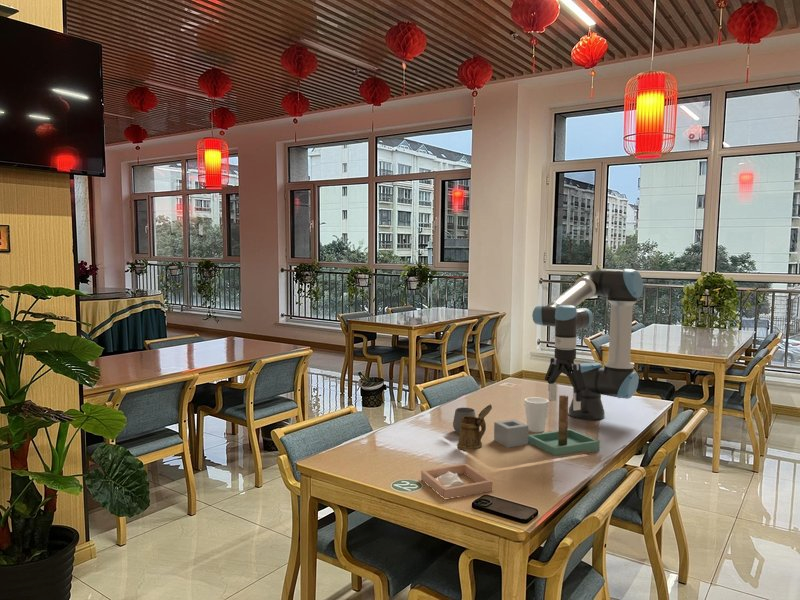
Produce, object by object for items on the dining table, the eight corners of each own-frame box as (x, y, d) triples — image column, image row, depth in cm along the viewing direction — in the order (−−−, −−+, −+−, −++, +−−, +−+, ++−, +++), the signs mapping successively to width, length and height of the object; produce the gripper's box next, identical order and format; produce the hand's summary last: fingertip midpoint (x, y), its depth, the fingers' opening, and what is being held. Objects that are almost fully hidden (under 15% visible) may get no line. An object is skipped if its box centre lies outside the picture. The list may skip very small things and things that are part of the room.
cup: (452, 431, 233) (452, 406, 233) (475, 431, 233) (475, 406, 232) (453, 438, 224) (453, 413, 223) (477, 438, 224) (478, 413, 223)
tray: (570, 437, 225) (570, 428, 225) (599, 450, 211) (599, 441, 210) (527, 444, 217) (527, 435, 217) (554, 458, 203) (554, 448, 202)
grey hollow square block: (514, 439, 223) (514, 419, 222) (528, 446, 214) (528, 425, 214) (494, 442, 219) (494, 421, 219) (507, 450, 211) (507, 428, 210)
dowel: (563, 442, 216) (564, 395, 215) (569, 445, 213) (570, 396, 212) (556, 443, 215) (557, 395, 214) (562, 446, 212) (563, 397, 211)
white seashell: (460, 480, 173) (429, 476, 176) (460, 494, 173) (429, 490, 176) (467, 468, 182) (437, 465, 185) (467, 482, 183) (437, 478, 185)
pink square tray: (465, 471, 190) (465, 463, 190) (492, 490, 175) (493, 481, 175) (420, 479, 184) (420, 470, 183) (444, 500, 169) (444, 490, 168)
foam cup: (548, 436, 227) (549, 403, 225) (524, 434, 228) (524, 402, 227) (547, 429, 236) (548, 397, 235) (524, 427, 238) (524, 396, 237)
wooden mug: (483, 457, 204) (483, 406, 202) (452, 448, 213) (452, 400, 212) (497, 450, 211) (497, 401, 209) (466, 442, 220) (467, 395, 218)
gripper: (535, 343, 221) (535, 398, 223) (580, 354, 198) (579, 415, 200) (552, 342, 224) (551, 395, 226) (597, 352, 201) (596, 412, 203)
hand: (564, 405), depth 213 cm, fingers open, 13 cm apart
